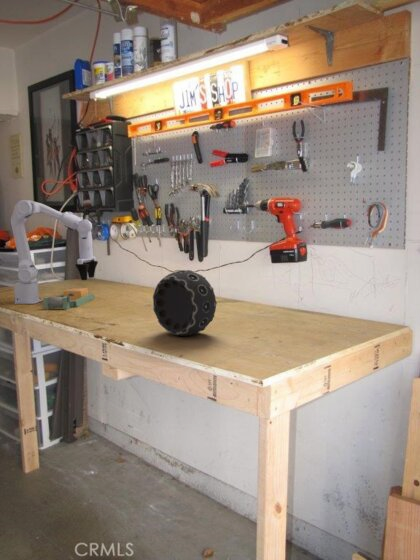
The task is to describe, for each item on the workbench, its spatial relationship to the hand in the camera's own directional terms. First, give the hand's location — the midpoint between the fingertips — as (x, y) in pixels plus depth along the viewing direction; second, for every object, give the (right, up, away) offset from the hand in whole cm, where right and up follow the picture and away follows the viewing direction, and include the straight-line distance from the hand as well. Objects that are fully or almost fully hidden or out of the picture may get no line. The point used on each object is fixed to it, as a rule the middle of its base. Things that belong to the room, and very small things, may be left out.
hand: (87, 278), depth 222 cm
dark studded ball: (+46, -18, -63) cm, 80 cm away
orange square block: (-5, -10, +1) cm, 11 cm away
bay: (-6, -11, -6) cm, 14 cm away
